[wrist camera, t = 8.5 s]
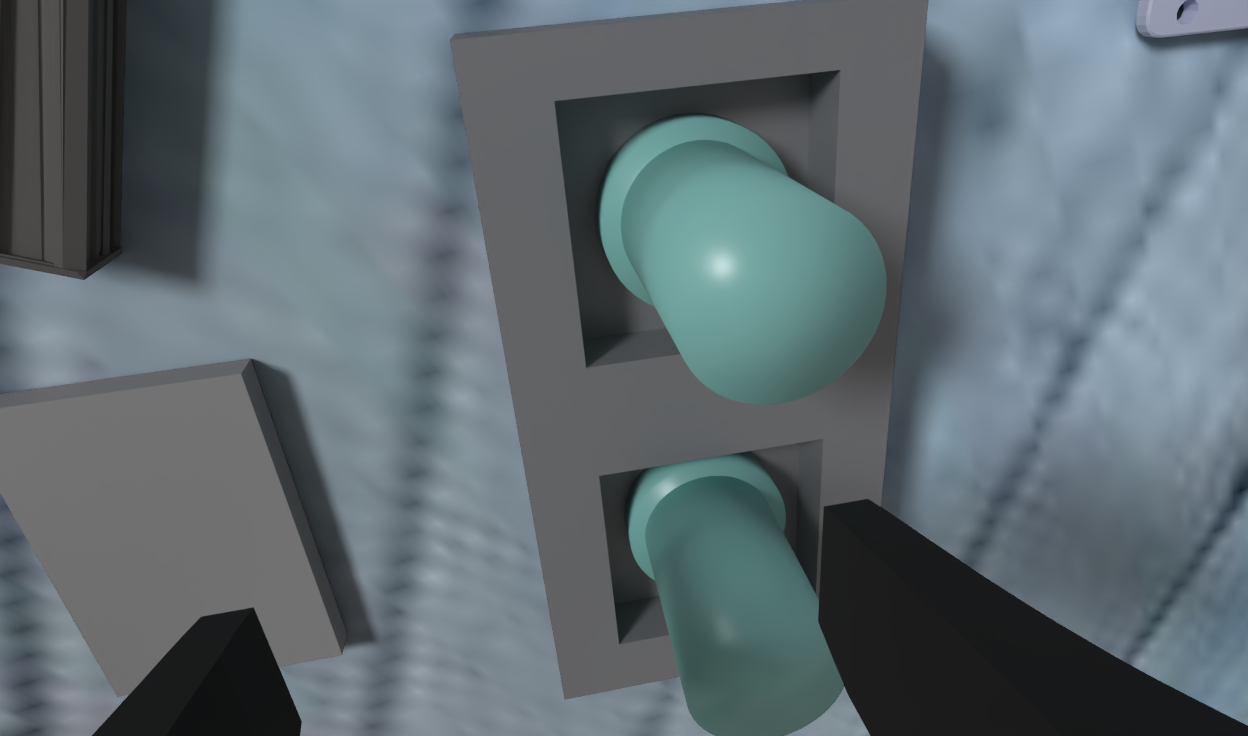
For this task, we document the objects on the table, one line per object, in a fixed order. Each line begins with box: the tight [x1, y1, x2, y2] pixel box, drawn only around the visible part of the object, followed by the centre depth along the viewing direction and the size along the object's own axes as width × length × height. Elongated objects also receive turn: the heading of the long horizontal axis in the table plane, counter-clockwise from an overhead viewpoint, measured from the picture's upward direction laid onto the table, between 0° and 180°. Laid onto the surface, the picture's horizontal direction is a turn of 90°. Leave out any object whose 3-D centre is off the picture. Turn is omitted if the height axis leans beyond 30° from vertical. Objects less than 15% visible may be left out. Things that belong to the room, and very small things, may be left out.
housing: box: [450, 0, 928, 699], centre depth 19 cm, size 9×17×2 cm, turn 5°
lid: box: [0, 359, 347, 697], centre depth 19 cm, size 6×9×1 cm, turn 5°
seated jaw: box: [595, 112, 887, 405], centre depth 14 cm, size 4×4×6 cm
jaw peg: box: [625, 451, 844, 736], centre depth 18 cm, size 4×4×6 cm
